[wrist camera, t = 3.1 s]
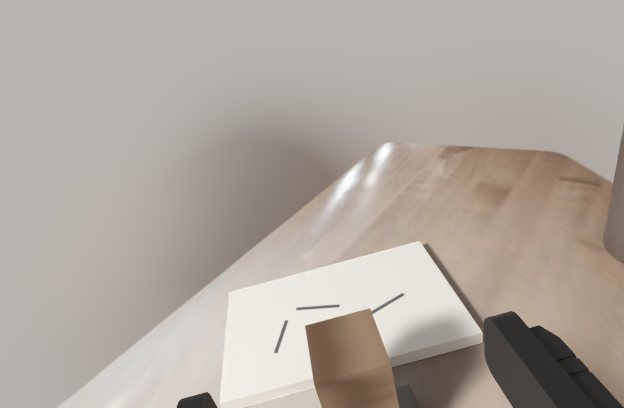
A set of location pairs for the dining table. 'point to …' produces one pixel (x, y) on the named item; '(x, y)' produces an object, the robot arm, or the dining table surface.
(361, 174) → the dining table surface
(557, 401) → the robot arm
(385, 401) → the block
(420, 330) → the board
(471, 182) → the dining table surface
